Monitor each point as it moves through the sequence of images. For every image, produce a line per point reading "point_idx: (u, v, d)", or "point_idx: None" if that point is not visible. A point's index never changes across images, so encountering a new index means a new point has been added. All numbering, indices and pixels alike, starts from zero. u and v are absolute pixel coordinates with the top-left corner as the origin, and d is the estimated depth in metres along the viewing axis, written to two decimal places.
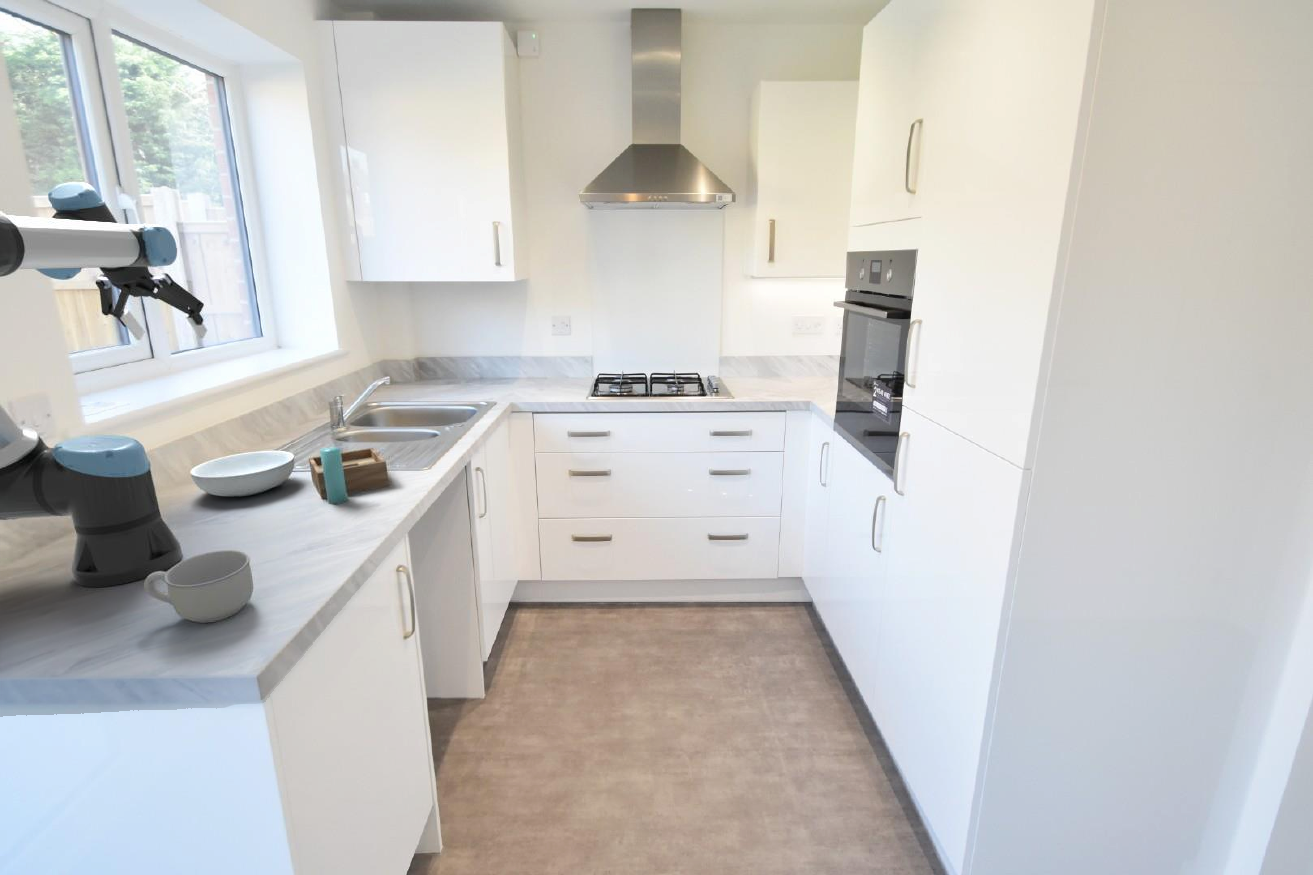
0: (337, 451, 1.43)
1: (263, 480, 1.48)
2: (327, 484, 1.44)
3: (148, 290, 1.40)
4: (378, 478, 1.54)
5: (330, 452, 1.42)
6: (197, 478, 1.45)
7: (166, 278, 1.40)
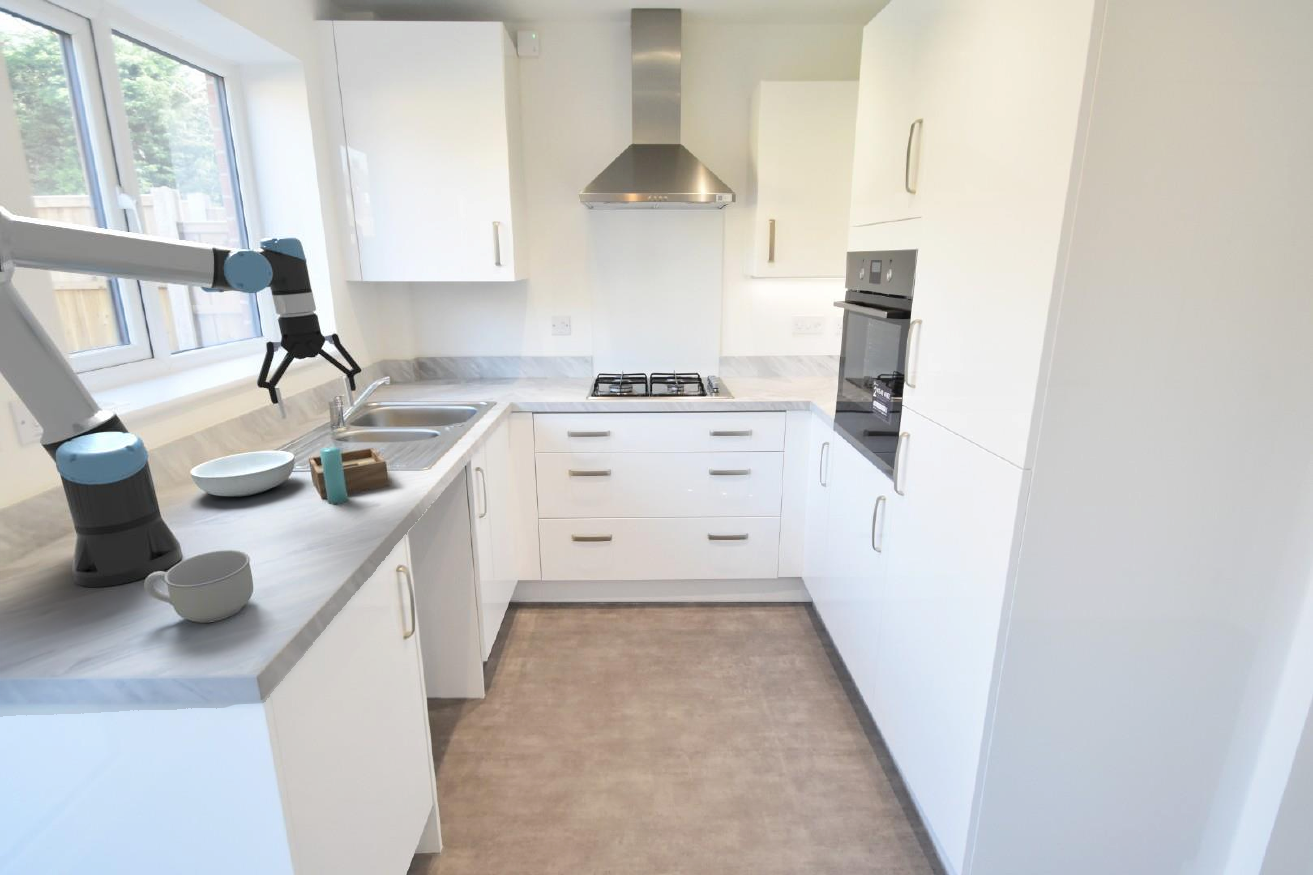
0: (337, 451, 1.43)
1: (263, 480, 1.48)
2: (327, 484, 1.44)
3: (319, 347, 1.41)
4: (378, 478, 1.54)
5: (330, 452, 1.42)
6: (197, 478, 1.45)
7: None
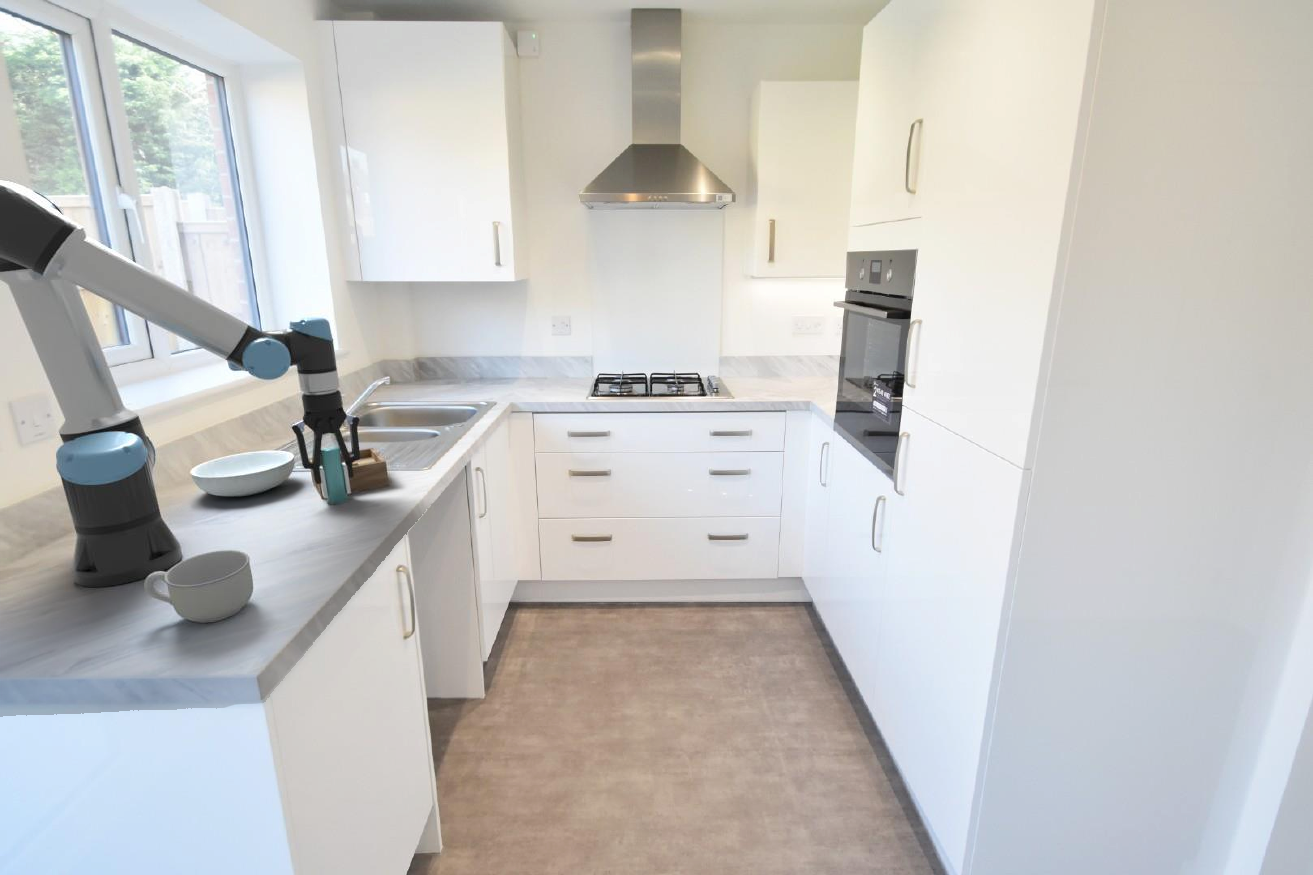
0: (337, 451, 1.43)
1: (263, 480, 1.48)
2: (327, 484, 1.44)
3: (338, 426, 1.42)
4: (378, 478, 1.54)
5: (330, 452, 1.42)
6: (197, 478, 1.45)
7: None
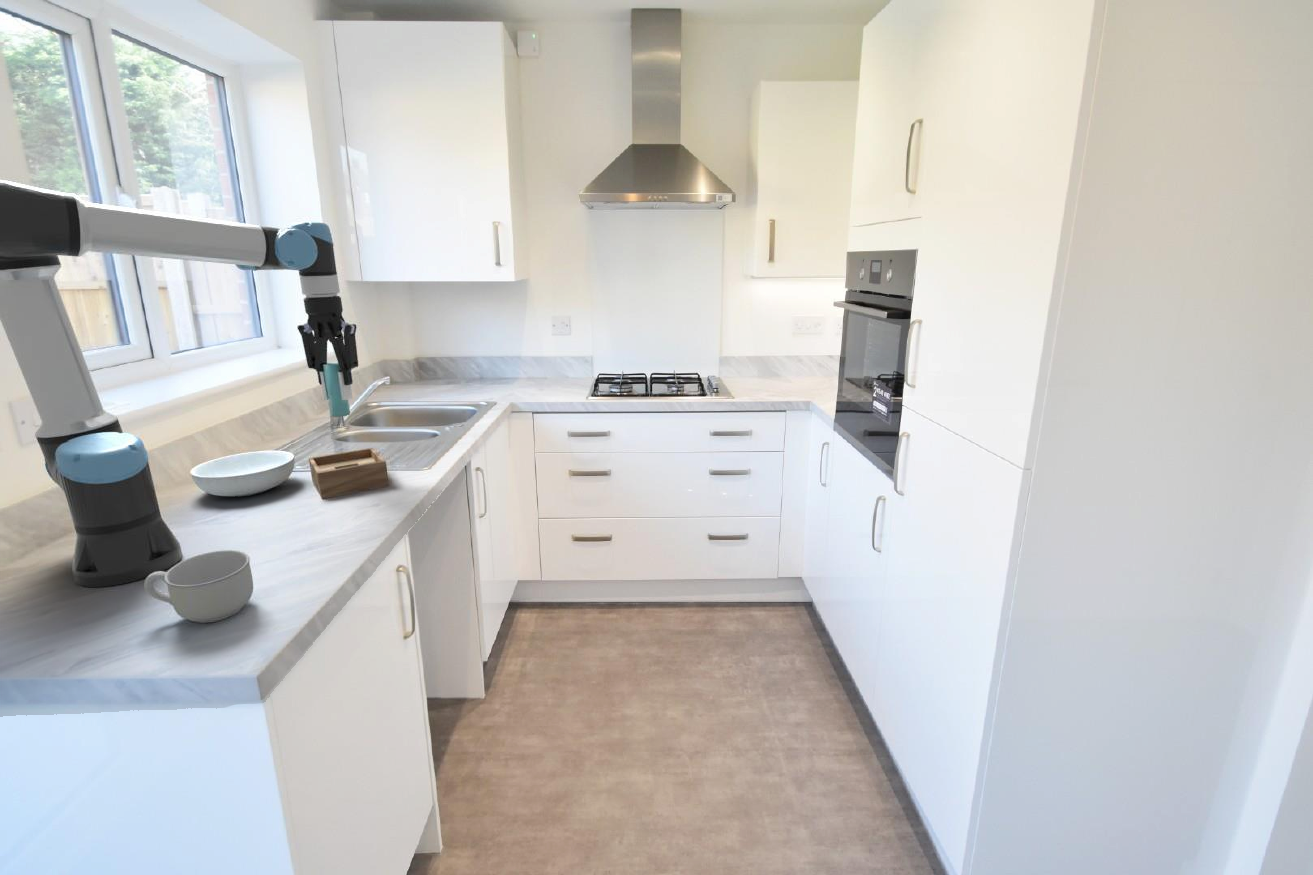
0: (333, 366, 1.48)
1: (263, 480, 1.48)
2: (328, 397, 1.51)
3: (331, 331, 1.46)
4: (378, 478, 1.54)
5: (326, 366, 1.48)
6: (197, 478, 1.45)
7: (353, 328, 1.46)
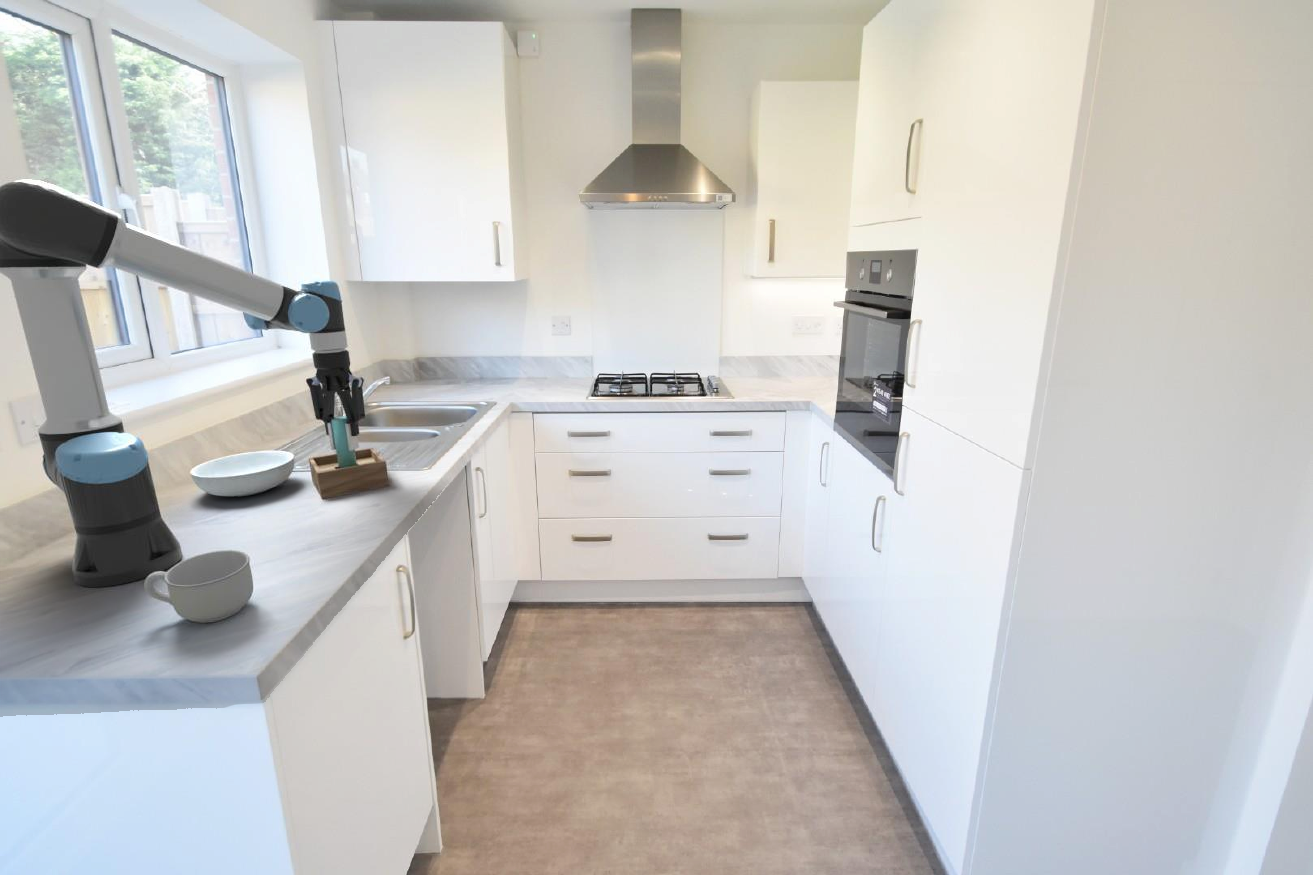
0: (341, 421, 1.52)
1: (263, 480, 1.48)
2: (336, 450, 1.55)
3: (339, 385, 1.50)
4: (378, 478, 1.54)
5: (334, 421, 1.52)
6: (197, 478, 1.45)
7: (360, 381, 1.50)
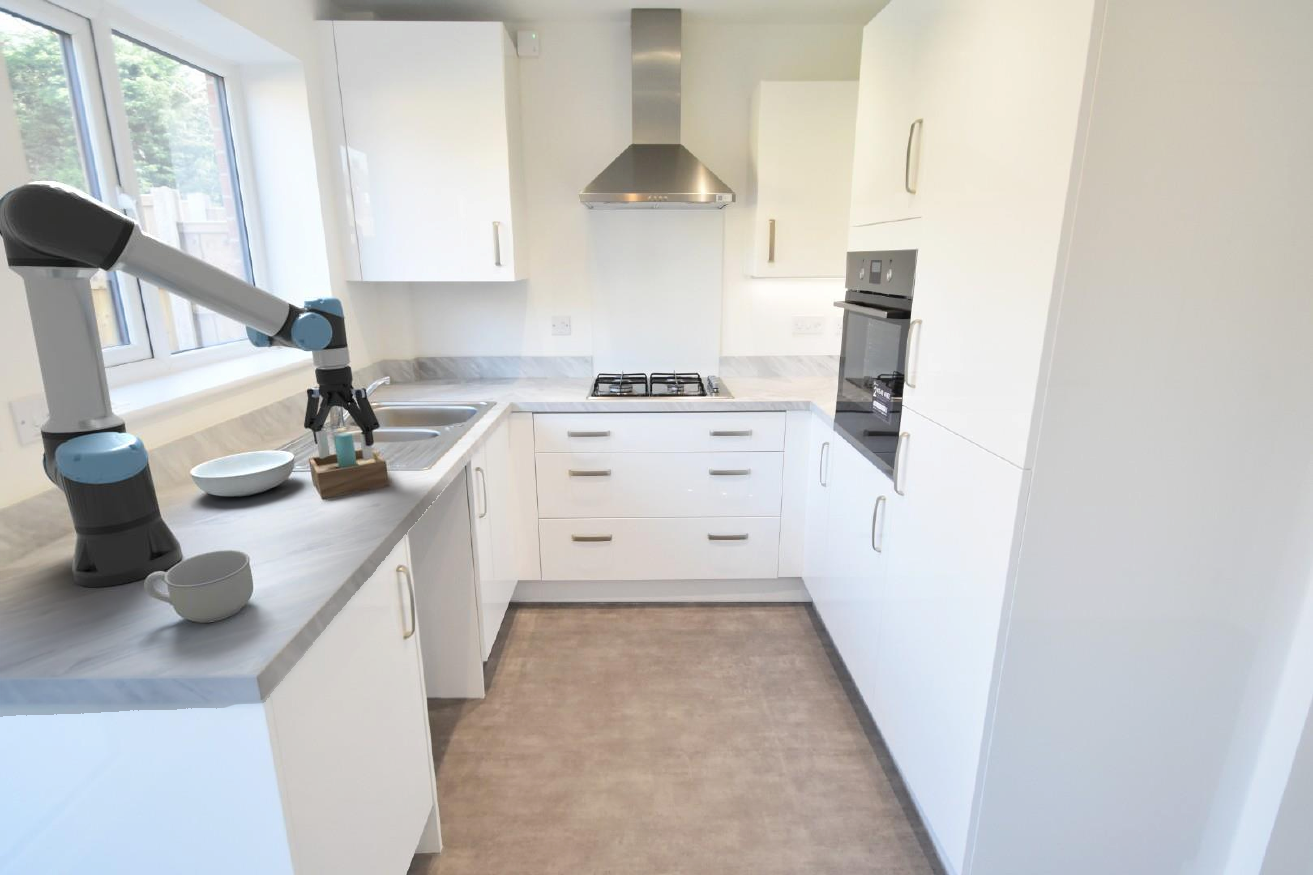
0: (343, 438, 1.53)
1: (263, 480, 1.48)
2: None
3: (343, 399, 1.51)
4: (378, 478, 1.54)
5: (337, 438, 1.53)
6: (197, 478, 1.45)
7: (363, 391, 1.51)
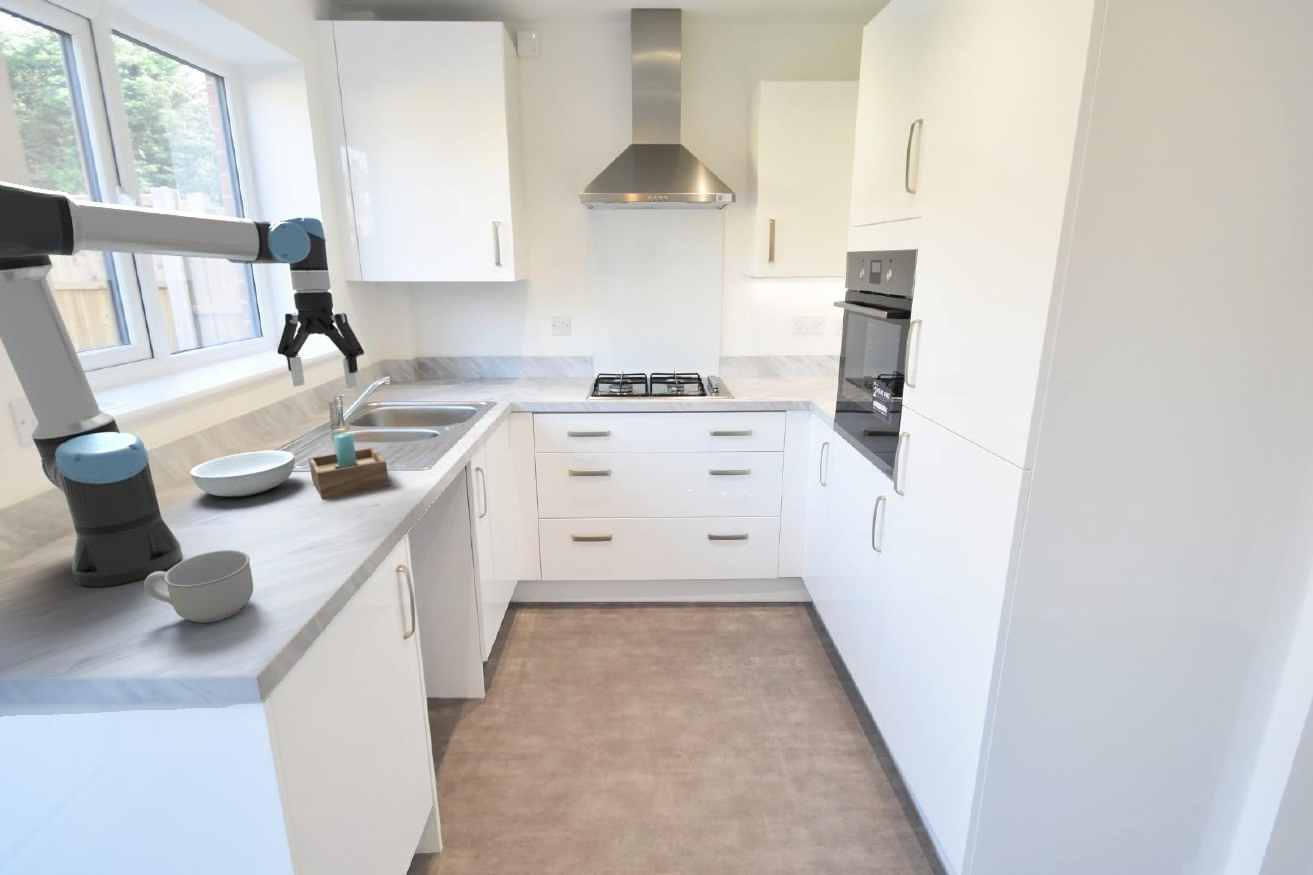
0: (343, 438, 1.53)
1: (263, 480, 1.48)
2: None
3: (323, 325, 1.45)
4: (378, 478, 1.54)
5: (337, 438, 1.53)
6: (197, 478, 1.45)
7: (343, 316, 1.45)
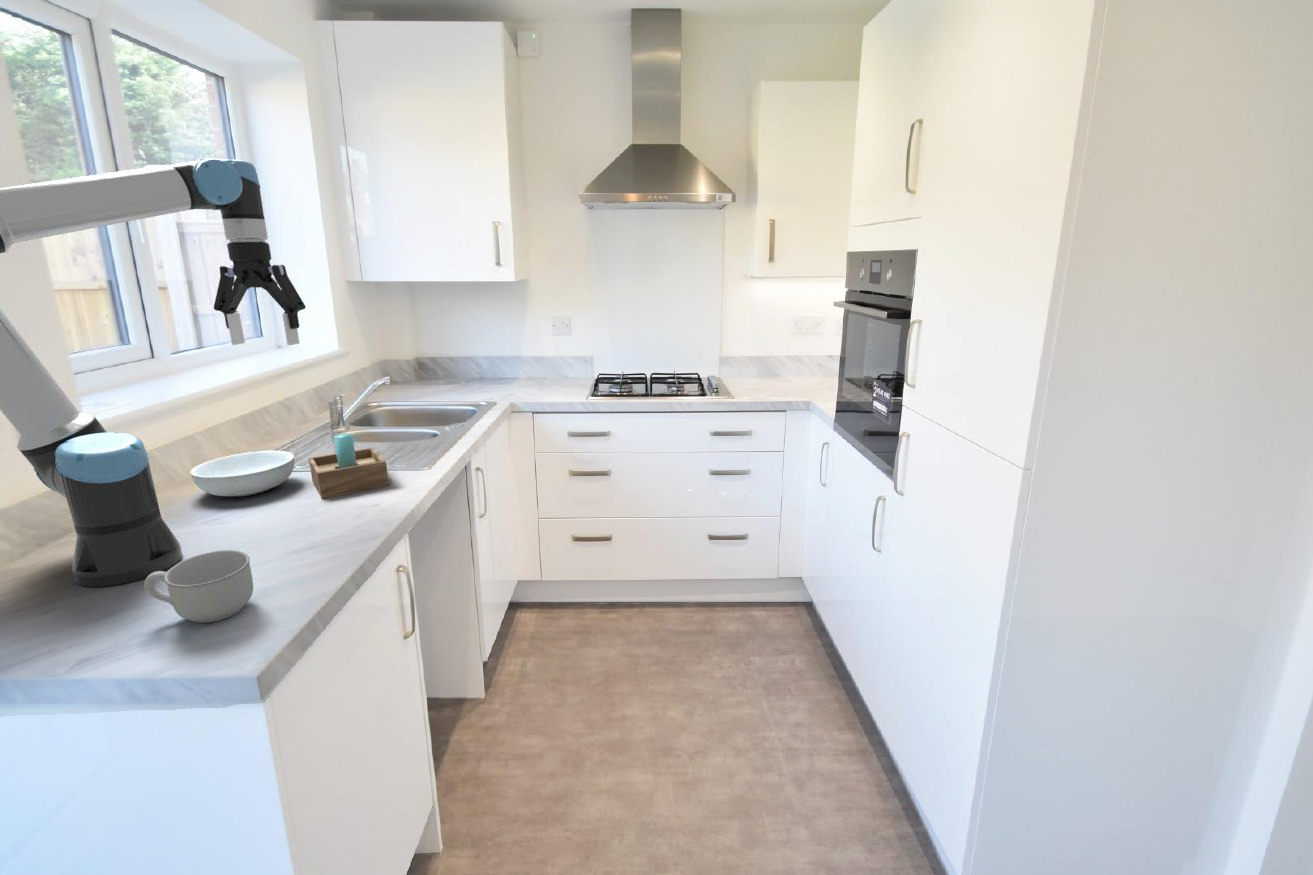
0: (343, 438, 1.53)
1: (263, 480, 1.48)
2: None
3: (260, 277, 1.36)
4: (378, 478, 1.54)
5: (337, 438, 1.53)
6: (197, 478, 1.45)
7: (281, 267, 1.36)
